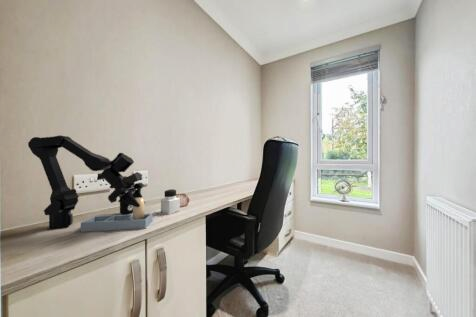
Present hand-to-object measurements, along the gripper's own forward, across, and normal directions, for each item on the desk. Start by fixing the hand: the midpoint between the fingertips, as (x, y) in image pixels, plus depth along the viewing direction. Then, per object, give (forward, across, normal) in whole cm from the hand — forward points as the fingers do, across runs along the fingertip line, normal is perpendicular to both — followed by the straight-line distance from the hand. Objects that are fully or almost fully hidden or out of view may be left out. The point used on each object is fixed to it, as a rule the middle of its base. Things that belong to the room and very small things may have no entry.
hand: (141, 205), depth 81 cm
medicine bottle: (+10, +21, +2) cm, 23 cm away
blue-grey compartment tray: (0, -1, +13) cm, 13 cm away
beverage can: (-6, +19, +18) cm, 27 cm away
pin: (+4, 0, +6) cm, 7 cm away
